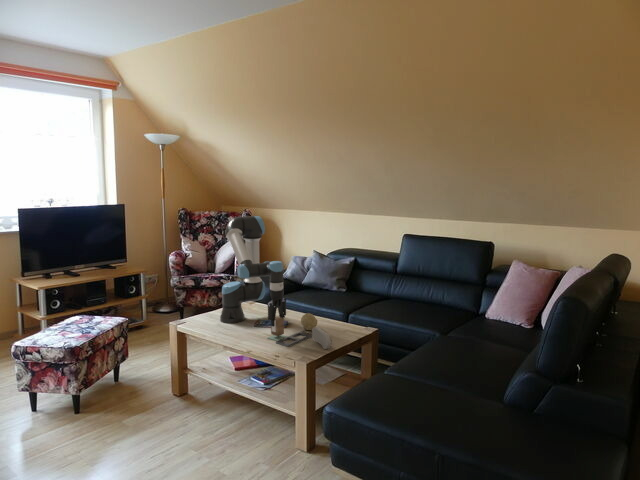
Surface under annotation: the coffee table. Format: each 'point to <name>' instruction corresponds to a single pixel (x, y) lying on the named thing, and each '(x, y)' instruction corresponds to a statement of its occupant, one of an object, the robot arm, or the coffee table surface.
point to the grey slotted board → (294, 338)
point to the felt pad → (277, 337)
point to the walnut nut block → (278, 326)
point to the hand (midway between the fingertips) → (277, 330)
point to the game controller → (321, 337)
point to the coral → (308, 321)
